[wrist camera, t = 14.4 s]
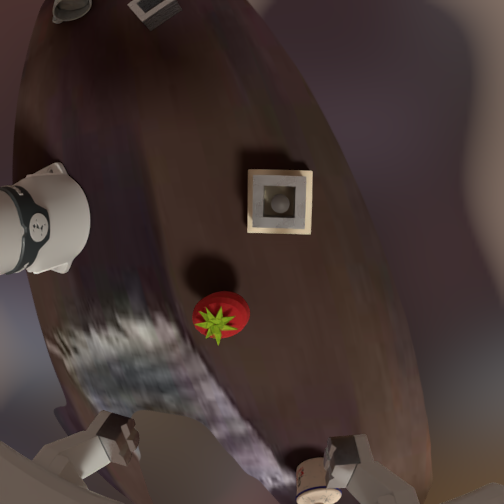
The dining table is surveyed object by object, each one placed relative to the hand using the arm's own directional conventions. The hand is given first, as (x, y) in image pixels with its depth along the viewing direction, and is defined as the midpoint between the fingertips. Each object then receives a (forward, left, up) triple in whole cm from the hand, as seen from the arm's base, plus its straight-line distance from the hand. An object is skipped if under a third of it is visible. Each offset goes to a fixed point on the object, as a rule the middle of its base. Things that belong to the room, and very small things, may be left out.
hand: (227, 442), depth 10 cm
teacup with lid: (+13, -47, -31) cm, 58 cm away
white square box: (-17, +40, -31) cm, 53 cm away
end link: (+2, +8, -29) cm, 30 cm away
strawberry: (-5, -6, -31) cm, 32 cm away
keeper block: (+2, +8, -31) cm, 32 cm away
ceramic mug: (-36, +48, -31) cm, 68 cm away
